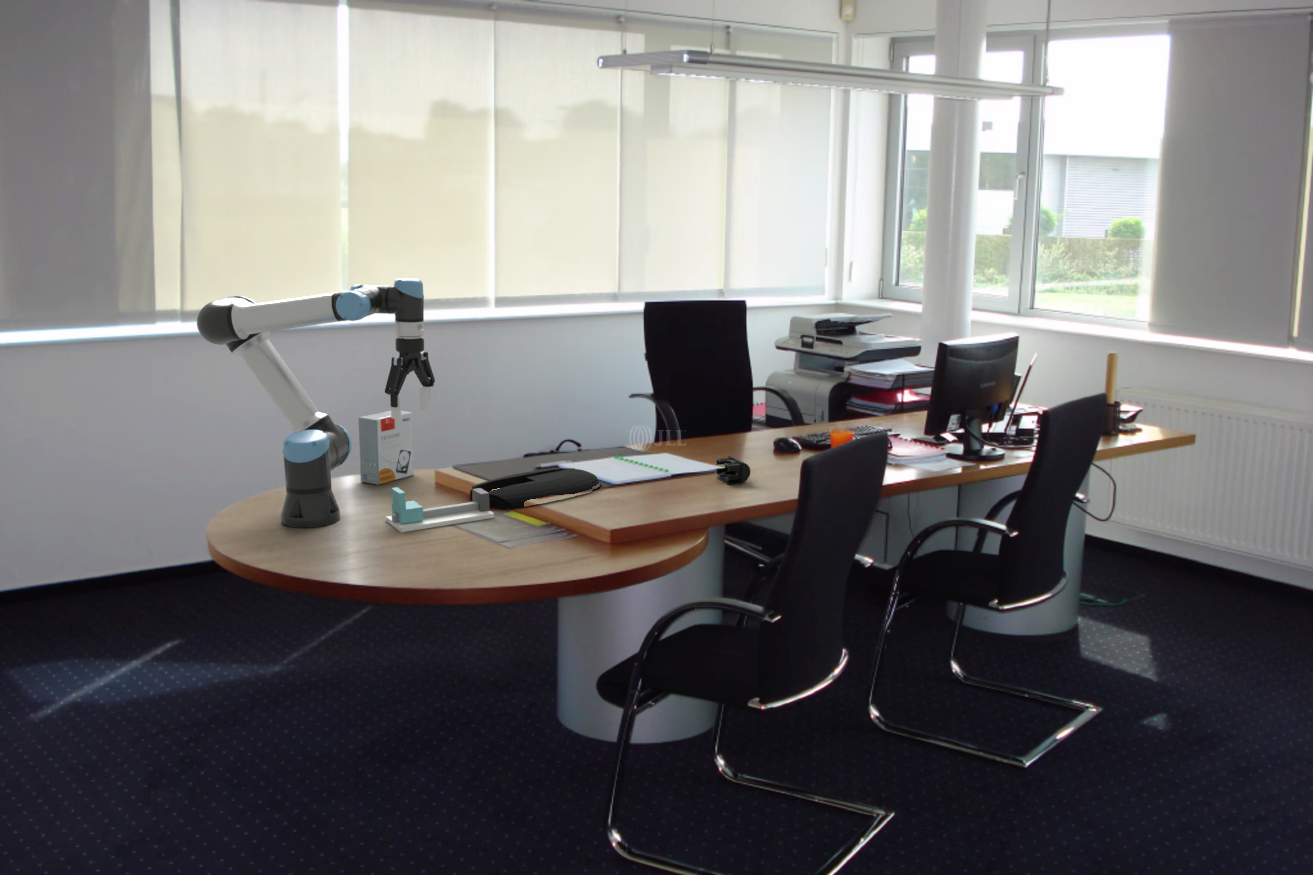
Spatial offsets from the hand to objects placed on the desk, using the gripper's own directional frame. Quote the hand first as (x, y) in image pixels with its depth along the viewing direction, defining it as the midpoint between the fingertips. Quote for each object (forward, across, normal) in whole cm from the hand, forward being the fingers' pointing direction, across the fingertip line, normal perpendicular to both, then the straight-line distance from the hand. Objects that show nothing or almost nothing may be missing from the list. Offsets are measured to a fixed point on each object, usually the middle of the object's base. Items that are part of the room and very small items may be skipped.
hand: (410, 414), depth 322 cm
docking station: (+26, +30, -24) cm, 46 cm away
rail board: (+26, -6, -13) cm, 30 cm away
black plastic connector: (+24, +64, -72) cm, 99 cm away
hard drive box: (+27, +25, +26) cm, 45 cm away
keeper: (+25, -13, -7) cm, 29 cm away
